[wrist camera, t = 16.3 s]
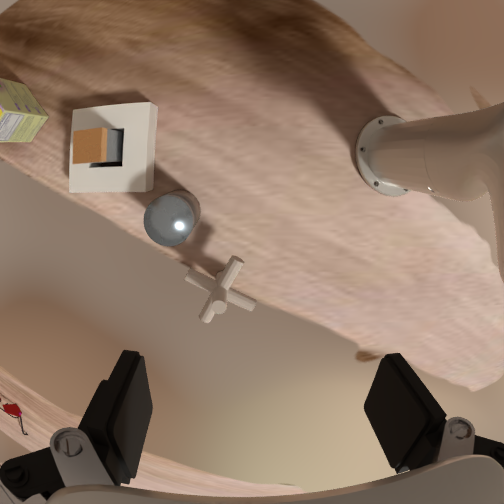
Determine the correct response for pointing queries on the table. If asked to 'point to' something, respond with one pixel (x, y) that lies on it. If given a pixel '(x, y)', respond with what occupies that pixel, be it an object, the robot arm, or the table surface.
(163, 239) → the cylinder
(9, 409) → the glasses
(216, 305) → the pipe connector
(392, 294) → the table surface
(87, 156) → the square bit
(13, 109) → the box
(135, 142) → the holder block
